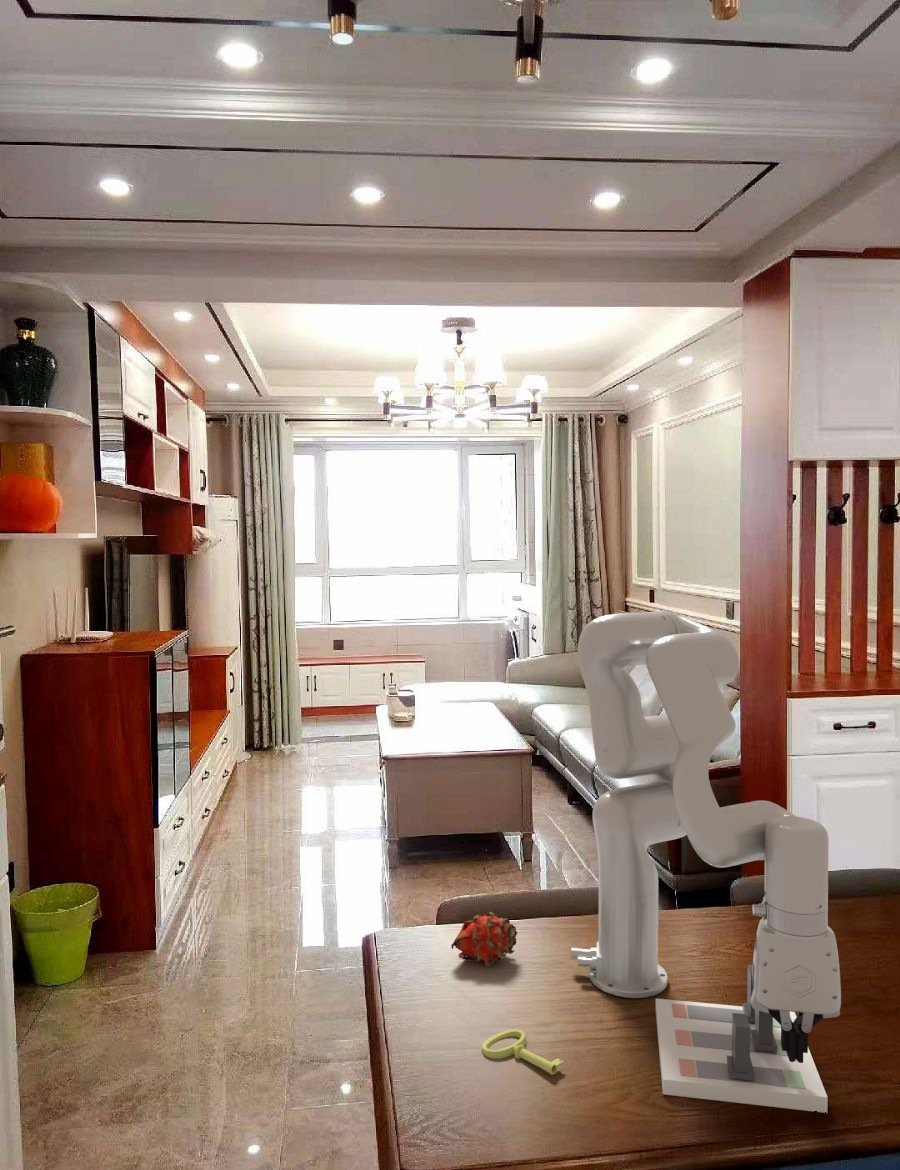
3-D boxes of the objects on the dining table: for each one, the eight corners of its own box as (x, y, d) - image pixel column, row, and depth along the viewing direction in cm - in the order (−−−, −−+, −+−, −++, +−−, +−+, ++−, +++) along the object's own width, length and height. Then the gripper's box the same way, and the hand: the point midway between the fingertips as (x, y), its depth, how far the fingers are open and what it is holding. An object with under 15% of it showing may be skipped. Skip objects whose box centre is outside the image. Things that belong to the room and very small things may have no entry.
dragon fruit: (523, 966, 147) (457, 985, 144) (507, 921, 154) (443, 939, 151) (528, 941, 142) (459, 961, 139) (510, 896, 148) (444, 914, 145)
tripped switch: (730, 1078, 110) (730, 1026, 110) (726, 1061, 113) (727, 1011, 113) (754, 1080, 109) (755, 1029, 109) (750, 1063, 113) (751, 1013, 113)
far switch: (746, 1021, 123) (746, 975, 123) (742, 1008, 126) (743, 963, 126) (768, 1023, 122) (768, 977, 122) (763, 1010, 126) (764, 965, 126)
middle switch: (754, 1049, 116) (754, 1001, 116) (750, 1034, 120) (750, 987, 119) (777, 1052, 116) (778, 1003, 115) (772, 1037, 119) (773, 989, 119)
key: (556, 1084, 113) (556, 1068, 113) (475, 1056, 120) (475, 1041, 120) (577, 1056, 120) (577, 1041, 120) (499, 1031, 126) (498, 1017, 126)
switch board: (662, 1094, 110) (663, 1078, 110) (655, 1011, 130) (655, 997, 130) (827, 1112, 107) (827, 1096, 107) (794, 1024, 126) (794, 1010, 126)
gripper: (738, 924, 107) (737, 1067, 108) (866, 934, 104) (864, 1080, 105) (730, 900, 114) (729, 1034, 115) (850, 908, 111) (848, 1045, 112)
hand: (794, 1055), depth 110 cm, fingers closed
